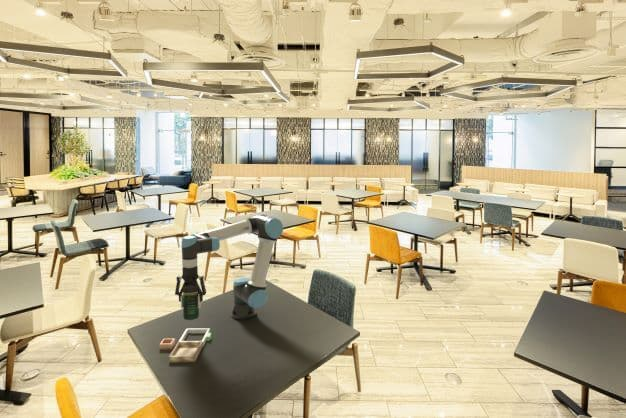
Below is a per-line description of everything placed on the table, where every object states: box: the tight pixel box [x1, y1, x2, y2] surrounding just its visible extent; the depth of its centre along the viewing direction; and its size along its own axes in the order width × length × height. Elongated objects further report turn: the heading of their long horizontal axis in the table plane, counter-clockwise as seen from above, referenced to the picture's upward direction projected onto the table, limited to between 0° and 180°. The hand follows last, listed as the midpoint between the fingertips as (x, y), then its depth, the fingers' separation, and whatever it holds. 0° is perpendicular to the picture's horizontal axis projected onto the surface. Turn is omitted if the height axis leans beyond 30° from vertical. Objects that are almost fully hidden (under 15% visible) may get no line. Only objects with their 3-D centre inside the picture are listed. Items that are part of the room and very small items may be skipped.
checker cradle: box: [177, 327, 212, 347], centre depth 201 cm, size 15×15×2 cm
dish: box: [159, 337, 176, 351], centre depth 193 cm, size 6×6×3 cm
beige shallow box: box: [168, 340, 204, 363], centre depth 186 cm, size 13×14×3 cm
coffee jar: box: [182, 283, 200, 321], centre depth 195 cm, size 10×8×19 cm
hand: (191, 307), depth 195 cm, fingers closed on coffee jar, 8 cm apart
